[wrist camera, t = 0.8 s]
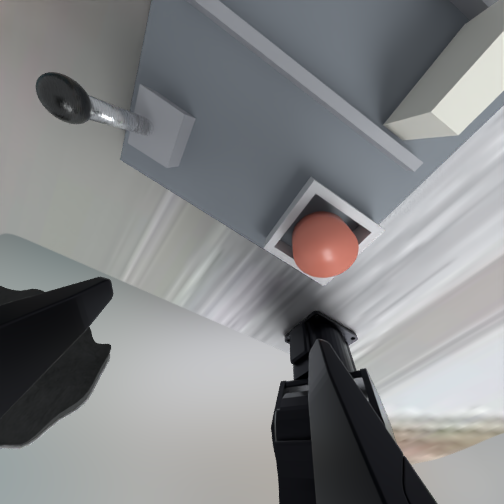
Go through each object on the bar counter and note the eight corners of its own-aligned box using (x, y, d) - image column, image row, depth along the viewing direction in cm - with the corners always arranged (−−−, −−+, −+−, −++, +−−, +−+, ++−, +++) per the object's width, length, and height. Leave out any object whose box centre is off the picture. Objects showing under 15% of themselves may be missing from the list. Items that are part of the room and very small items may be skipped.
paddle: (486, 46, 10) (620, -24, 6) (402, 140, 12) (458, 135, 8) (464, 24, 9) (587, -64, 6) (382, 124, 12) (430, 112, 8)
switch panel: (508, 70, 12) (621, 29, 8) (313, 268, 20) (320, 296, 16) (229, -196, 9) (187, -455, 5) (140, 158, 18) (98, 160, 14)
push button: (360, 231, 14) (373, 245, 12) (321, 268, 16) (327, 287, 13) (315, 200, 13) (321, 209, 11) (281, 243, 15) (280, 258, 13)
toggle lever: (165, 121, 12) (50, 75, 7) (156, 150, 12) (50, 125, 8) (146, 106, 12) (25, 53, 7) (139, 135, 13) (27, 103, 8)
